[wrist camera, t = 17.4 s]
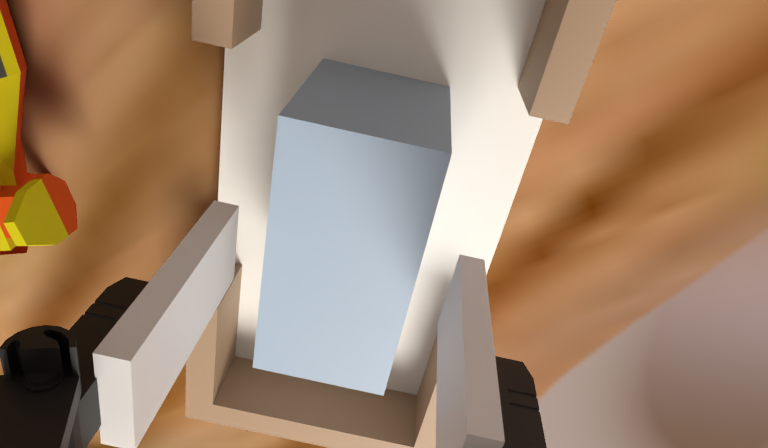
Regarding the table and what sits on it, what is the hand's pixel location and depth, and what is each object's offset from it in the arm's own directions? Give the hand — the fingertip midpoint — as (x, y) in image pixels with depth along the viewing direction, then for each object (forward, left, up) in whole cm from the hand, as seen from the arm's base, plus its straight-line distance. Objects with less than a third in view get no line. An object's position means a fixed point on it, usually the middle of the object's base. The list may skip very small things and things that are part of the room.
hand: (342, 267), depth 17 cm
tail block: (0, 0, -5) cm, 5 cm away
